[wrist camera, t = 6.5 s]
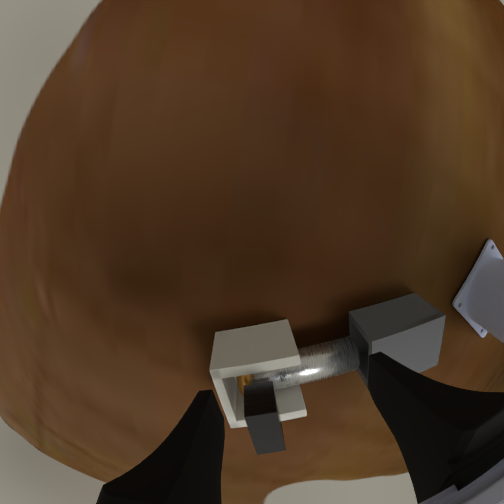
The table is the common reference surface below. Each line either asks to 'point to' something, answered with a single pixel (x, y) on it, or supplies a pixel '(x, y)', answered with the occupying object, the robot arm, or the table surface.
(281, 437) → the silver cylinder with handle
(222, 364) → the ceramic socket
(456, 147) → the table surface
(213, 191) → the table surface
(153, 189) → the table surface
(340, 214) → the table surface
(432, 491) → the robot arm
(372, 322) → the charcoal sleeve
